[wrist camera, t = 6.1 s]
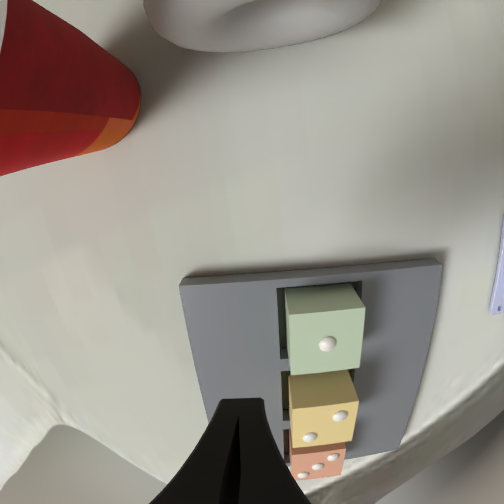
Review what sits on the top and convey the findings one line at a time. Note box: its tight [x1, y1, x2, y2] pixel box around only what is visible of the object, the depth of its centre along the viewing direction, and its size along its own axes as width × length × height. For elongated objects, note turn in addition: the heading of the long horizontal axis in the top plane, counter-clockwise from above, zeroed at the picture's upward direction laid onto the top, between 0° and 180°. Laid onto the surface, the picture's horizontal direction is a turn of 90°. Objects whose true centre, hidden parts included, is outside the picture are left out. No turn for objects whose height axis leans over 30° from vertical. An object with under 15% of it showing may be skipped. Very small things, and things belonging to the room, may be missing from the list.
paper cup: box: [0, 0, 141, 176], centre depth 10 cm, size 8×8×14 cm
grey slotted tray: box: [179, 258, 443, 466], centre depth 21 cm, size 16×18×1 cm
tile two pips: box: [289, 369, 359, 448], centre depth 19 cm, size 4×4×3 cm
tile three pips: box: [289, 429, 346, 481], centre depth 22 cm, size 4×4×3 cm
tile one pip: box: [285, 283, 365, 375], centre depth 18 cm, size 4×4×3 cm
